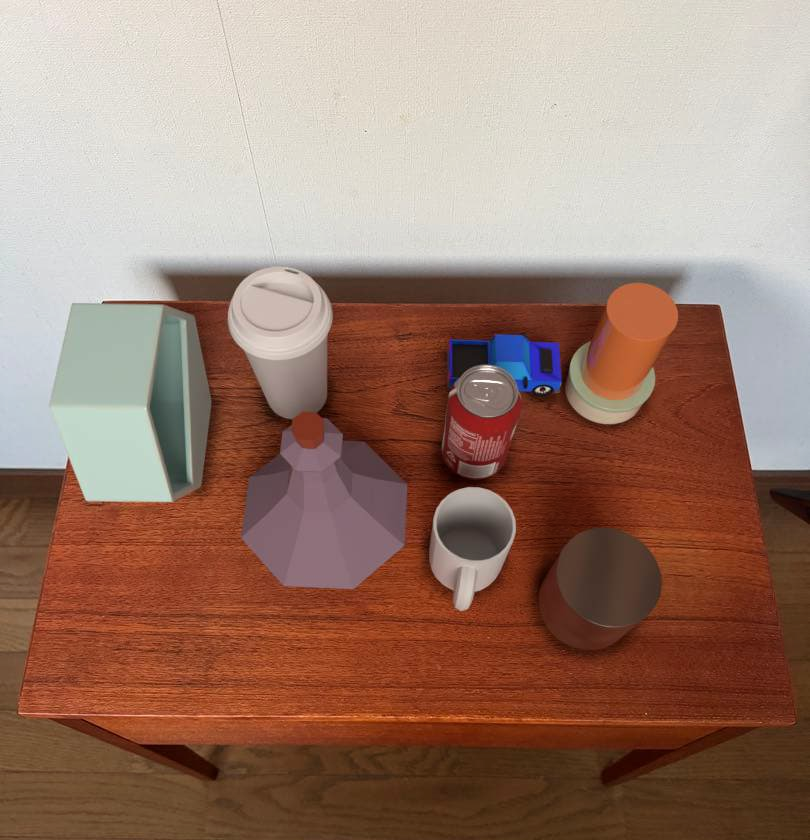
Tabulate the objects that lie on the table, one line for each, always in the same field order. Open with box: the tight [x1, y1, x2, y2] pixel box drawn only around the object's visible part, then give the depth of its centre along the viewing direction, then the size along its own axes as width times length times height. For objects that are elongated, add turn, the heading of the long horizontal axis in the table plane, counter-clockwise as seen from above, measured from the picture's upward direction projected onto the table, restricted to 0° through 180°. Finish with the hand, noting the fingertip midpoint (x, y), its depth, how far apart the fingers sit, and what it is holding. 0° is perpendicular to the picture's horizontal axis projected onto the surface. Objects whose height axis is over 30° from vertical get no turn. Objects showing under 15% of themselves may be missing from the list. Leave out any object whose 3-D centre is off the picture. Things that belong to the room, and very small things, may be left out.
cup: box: [428, 486, 517, 612], centre depth 67 cm, size 7×10×9 cm
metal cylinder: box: [537, 526, 663, 651], centre depth 66 cm, size 9×9×8 cm
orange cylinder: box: [581, 282, 679, 400], centre depth 72 cm, size 7×7×10 cm
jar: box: [564, 340, 656, 425], centre depth 78 cm, size 9×9×3 cm
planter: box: [49, 302, 212, 503], centre depth 68 cm, size 17×8×21 cm
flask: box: [240, 412, 408, 590], centre depth 63 cm, size 16×16×20 cm
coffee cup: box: [227, 265, 334, 421], centre depth 72 cm, size 10×10×15 cm
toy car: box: [446, 331, 562, 397], centre depth 77 cm, size 7×12×5 cm, turn 89°
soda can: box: [441, 365, 523, 481], centre depth 70 cm, size 7×7×12 cm
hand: (798, 457), depth 61 cm, fingers open, 9 cm apart
